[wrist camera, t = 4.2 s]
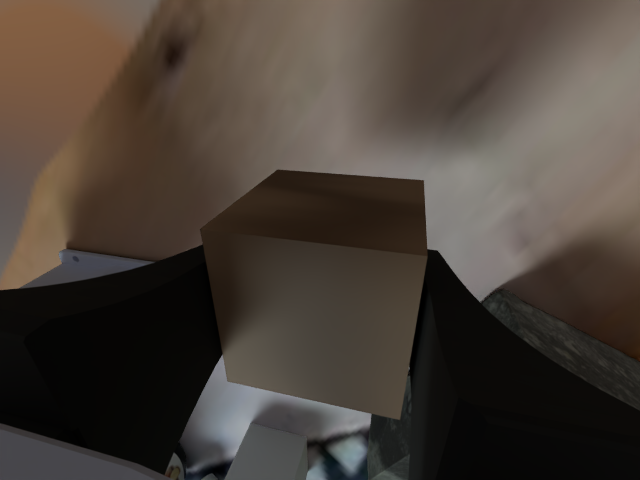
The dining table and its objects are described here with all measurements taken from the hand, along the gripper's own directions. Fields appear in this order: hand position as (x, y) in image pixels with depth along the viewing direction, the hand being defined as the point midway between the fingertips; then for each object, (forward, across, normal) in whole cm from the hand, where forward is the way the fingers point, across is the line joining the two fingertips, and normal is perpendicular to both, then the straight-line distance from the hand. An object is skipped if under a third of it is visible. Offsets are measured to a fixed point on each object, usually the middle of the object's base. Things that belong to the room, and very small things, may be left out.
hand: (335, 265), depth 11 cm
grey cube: (+7, +6, +24) cm, 26 cm away
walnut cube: (+2, 0, 0) cm, 2 cm away
